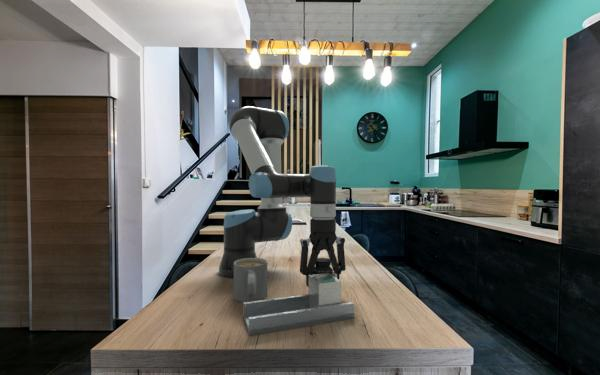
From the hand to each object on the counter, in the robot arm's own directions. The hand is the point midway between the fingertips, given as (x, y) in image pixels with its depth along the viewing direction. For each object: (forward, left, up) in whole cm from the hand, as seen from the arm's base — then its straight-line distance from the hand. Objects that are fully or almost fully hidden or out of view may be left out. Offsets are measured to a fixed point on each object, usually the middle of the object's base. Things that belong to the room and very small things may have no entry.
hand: (322, 296), depth 83 cm
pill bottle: (0, 0, 0) cm, 0 cm away
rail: (+10, -11, 0) cm, 15 cm away
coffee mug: (-7, -21, 0) cm, 22 cm away
